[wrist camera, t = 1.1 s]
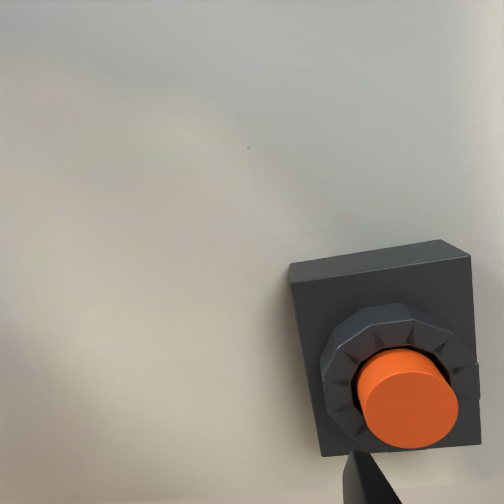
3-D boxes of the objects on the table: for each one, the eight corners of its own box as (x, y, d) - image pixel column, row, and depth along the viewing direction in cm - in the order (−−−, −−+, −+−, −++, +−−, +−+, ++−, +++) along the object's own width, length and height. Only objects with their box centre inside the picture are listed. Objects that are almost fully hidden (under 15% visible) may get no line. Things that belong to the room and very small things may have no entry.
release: (453, 402, 21) (503, 476, 16) (317, 416, 22) (324, 488, 17) (441, 238, 18) (494, 266, 14) (289, 263, 20) (289, 296, 15)
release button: (443, 414, 16) (461, 445, 14) (361, 422, 16) (369, 452, 15) (437, 343, 15) (455, 366, 13) (351, 353, 16) (358, 376, 14)
